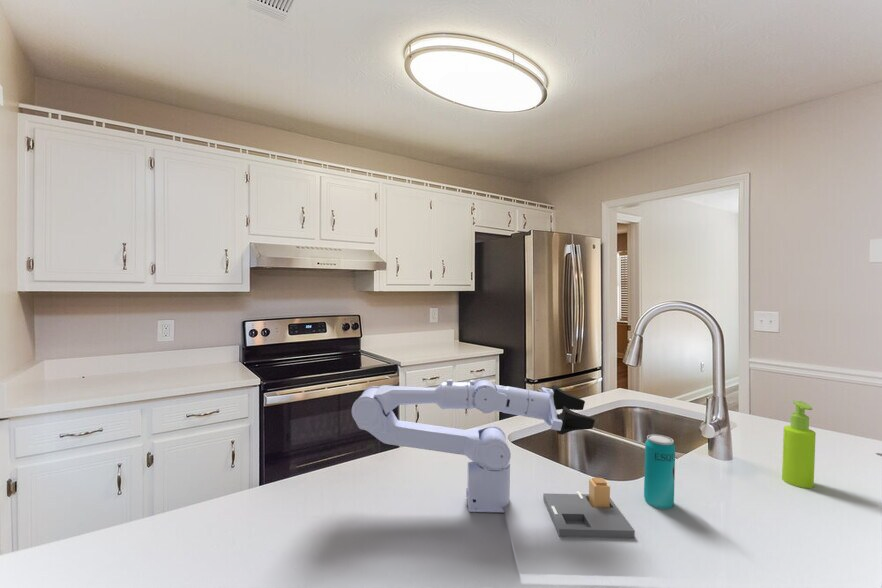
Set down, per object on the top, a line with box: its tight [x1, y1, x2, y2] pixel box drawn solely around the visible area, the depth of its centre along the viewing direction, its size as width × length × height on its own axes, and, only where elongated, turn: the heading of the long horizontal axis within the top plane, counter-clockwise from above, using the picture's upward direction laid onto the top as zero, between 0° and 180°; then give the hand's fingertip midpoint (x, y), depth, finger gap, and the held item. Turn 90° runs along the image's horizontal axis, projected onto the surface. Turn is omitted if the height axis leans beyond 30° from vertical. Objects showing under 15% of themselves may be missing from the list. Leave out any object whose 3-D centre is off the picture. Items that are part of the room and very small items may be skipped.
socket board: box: [542, 490, 636, 539], centre depth 84 cm, size 14×14×2 cm
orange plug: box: [588, 477, 611, 508], centre depth 87 cm, size 3×3×6 cm
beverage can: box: [643, 433, 676, 510], centre depth 89 cm, size 6×6×15 cm
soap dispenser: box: [781, 400, 817, 489], centre depth 100 cm, size 6×7×20 cm
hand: (588, 414), depth 89 cm, fingers open, 7 cm apart
